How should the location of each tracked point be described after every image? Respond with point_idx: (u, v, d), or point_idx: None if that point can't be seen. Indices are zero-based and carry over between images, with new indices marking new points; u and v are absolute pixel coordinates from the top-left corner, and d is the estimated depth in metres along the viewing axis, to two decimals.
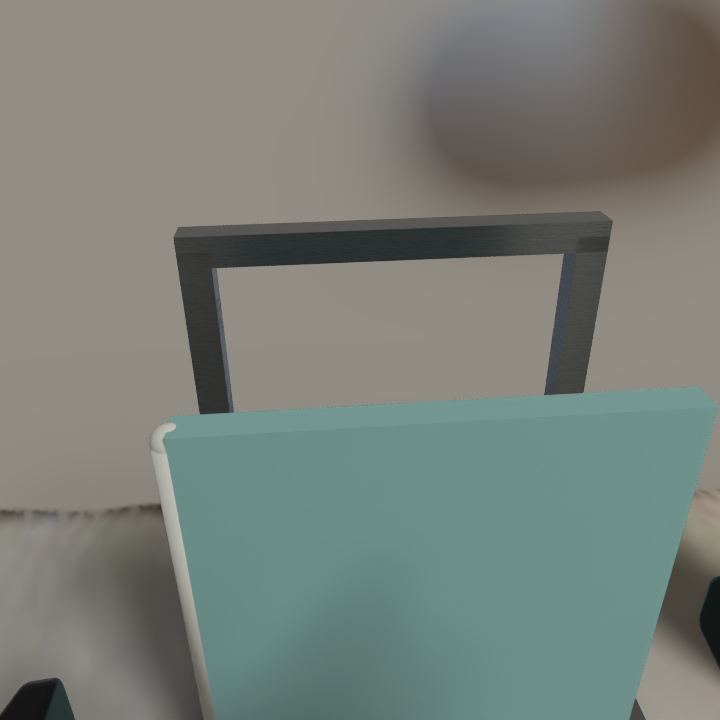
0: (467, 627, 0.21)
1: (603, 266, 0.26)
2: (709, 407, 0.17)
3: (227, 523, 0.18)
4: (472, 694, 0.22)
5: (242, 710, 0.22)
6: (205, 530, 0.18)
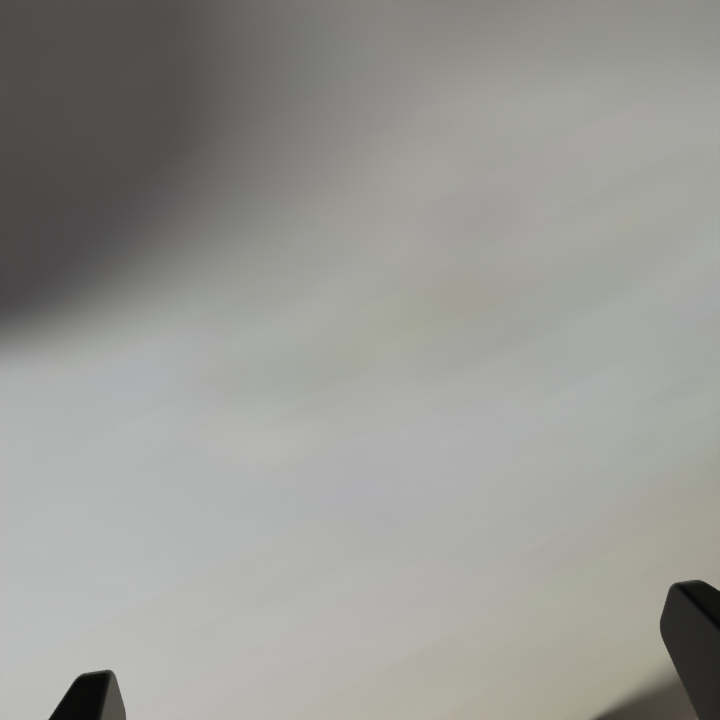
0: None
1: None
2: None
3: None
4: None
5: None
6: None
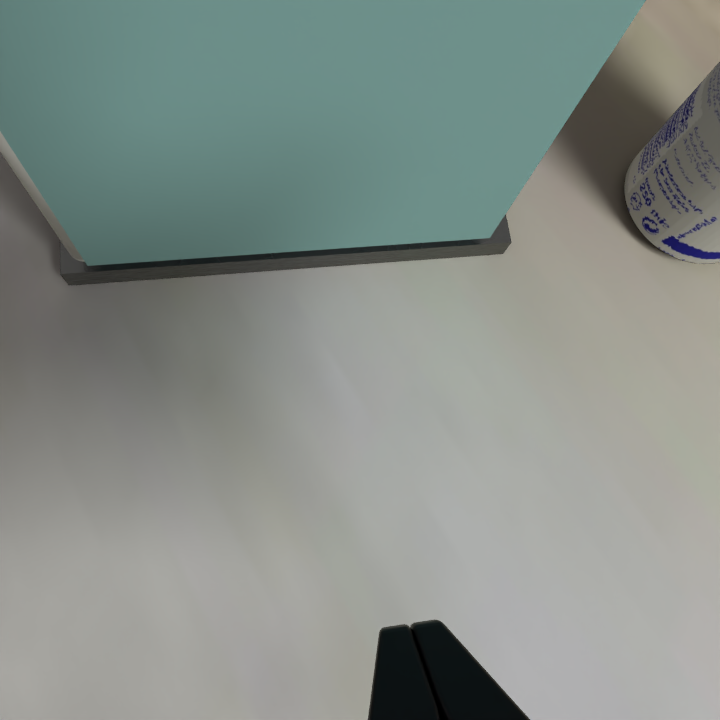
0: (337, 157, 0.18)
1: None
2: None
3: (7, 33, 0.13)
4: (341, 214, 0.22)
5: (94, 226, 0.20)
6: None
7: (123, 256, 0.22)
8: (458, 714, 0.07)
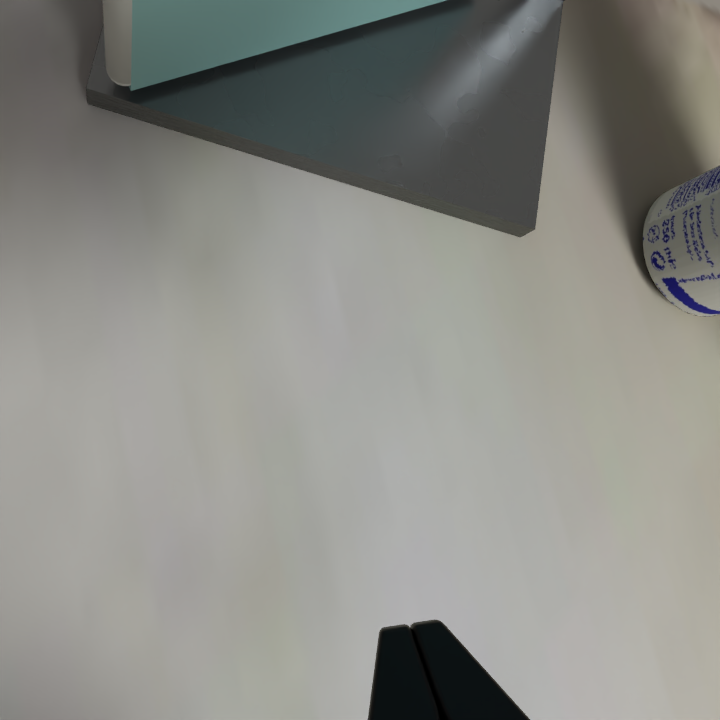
0: None
1: None
2: None
3: None
4: None
5: (162, 33, 0.19)
6: None
7: (171, 70, 0.21)
8: (458, 714, 0.07)
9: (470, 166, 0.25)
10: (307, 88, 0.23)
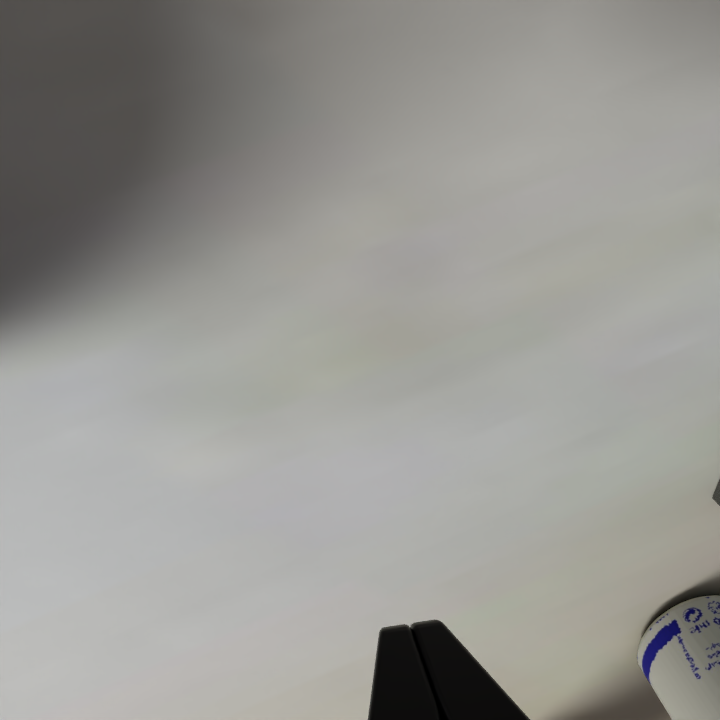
0: None
1: None
2: None
3: None
4: None
5: None
6: None
7: None
8: (458, 714, 0.07)
9: None
10: None
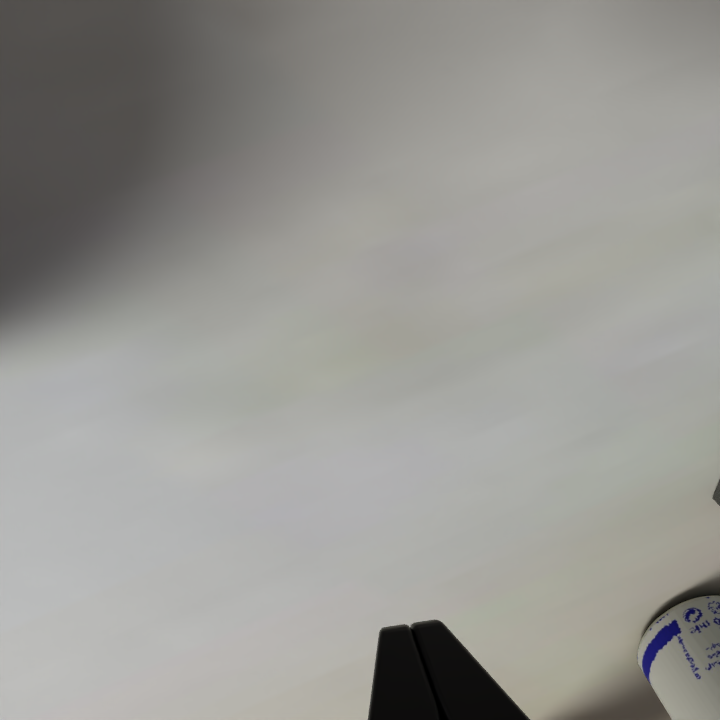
0: None
1: None
2: None
3: None
4: None
5: None
6: None
7: None
8: (458, 714, 0.07)
9: None
10: None
